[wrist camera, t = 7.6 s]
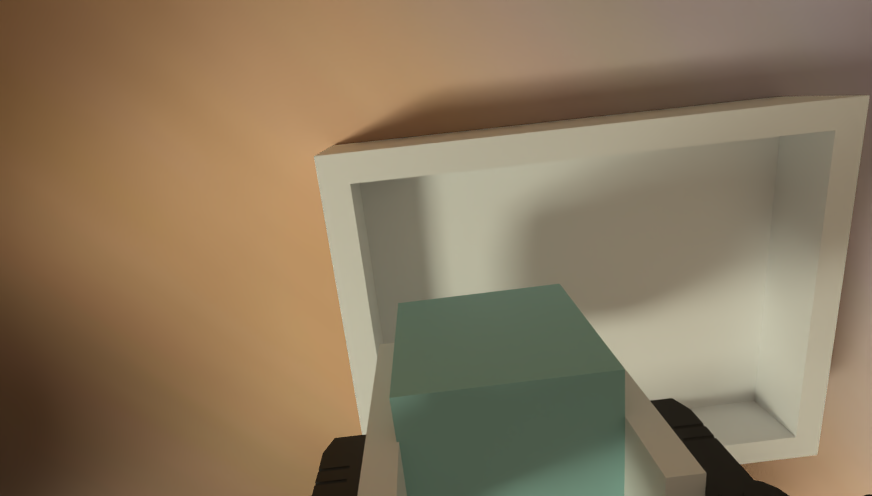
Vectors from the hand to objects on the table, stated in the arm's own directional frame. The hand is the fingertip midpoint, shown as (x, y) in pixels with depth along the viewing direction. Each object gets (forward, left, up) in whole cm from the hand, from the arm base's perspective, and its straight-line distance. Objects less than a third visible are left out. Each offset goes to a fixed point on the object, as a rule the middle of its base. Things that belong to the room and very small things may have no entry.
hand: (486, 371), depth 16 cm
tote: (+4, 0, -6) cm, 8 cm away
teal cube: (0, 0, 0) cm, 0 cm away
